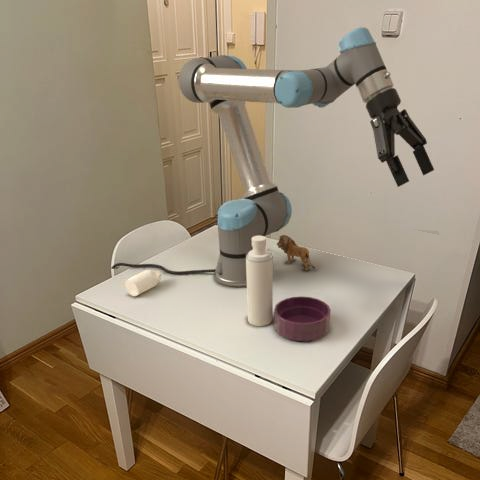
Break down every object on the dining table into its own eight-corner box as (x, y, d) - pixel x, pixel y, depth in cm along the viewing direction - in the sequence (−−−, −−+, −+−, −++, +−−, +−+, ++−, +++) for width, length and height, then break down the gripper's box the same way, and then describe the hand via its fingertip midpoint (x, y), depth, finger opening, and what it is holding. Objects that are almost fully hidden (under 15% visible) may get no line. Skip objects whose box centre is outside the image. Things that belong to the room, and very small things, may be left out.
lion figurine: (274, 261, 164) (274, 236, 159) (283, 256, 168) (283, 231, 163) (311, 272, 156) (312, 246, 151) (320, 267, 159) (321, 241, 155)
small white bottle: (168, 283, 153) (166, 267, 150) (139, 298, 145) (136, 281, 142) (155, 278, 156) (152, 262, 153) (125, 293, 148) (123, 276, 145)
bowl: (269, 339, 123) (269, 321, 121) (279, 312, 135) (279, 294, 132) (326, 345, 120) (327, 326, 117) (331, 316, 132) (332, 298, 129)
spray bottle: (262, 328, 128) (261, 239, 115) (242, 321, 132) (239, 233, 119) (277, 318, 132) (277, 230, 119) (257, 311, 136) (256, 225, 123)
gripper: (365, 91, 105) (406, 181, 106) (416, 82, 120) (451, 161, 122) (338, 110, 110) (378, 196, 112) (391, 99, 126) (425, 175, 128)
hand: (416, 178), depth 117 cm, fingers open, 13 cm apart
